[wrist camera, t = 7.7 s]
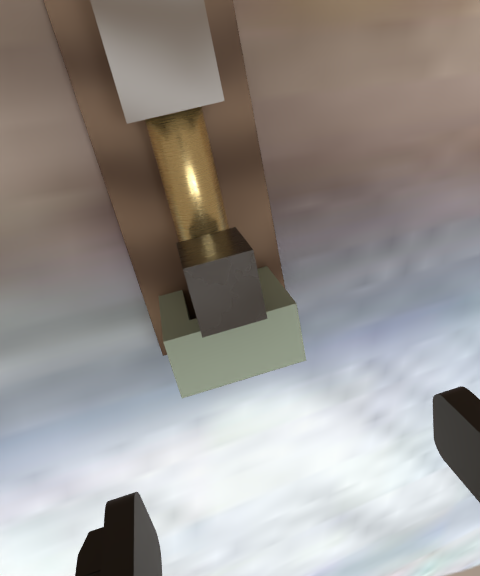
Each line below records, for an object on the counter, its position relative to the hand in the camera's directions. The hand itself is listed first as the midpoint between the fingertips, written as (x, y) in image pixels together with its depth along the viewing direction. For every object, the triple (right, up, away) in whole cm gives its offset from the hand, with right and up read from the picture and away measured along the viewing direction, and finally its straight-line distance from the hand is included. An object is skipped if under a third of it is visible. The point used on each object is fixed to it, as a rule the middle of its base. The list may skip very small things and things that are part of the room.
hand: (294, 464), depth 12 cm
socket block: (-3, +3, +21) cm, 21 cm away
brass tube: (-4, +11, +16) cm, 20 cm away
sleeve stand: (-5, +13, +18) cm, 23 cm away
